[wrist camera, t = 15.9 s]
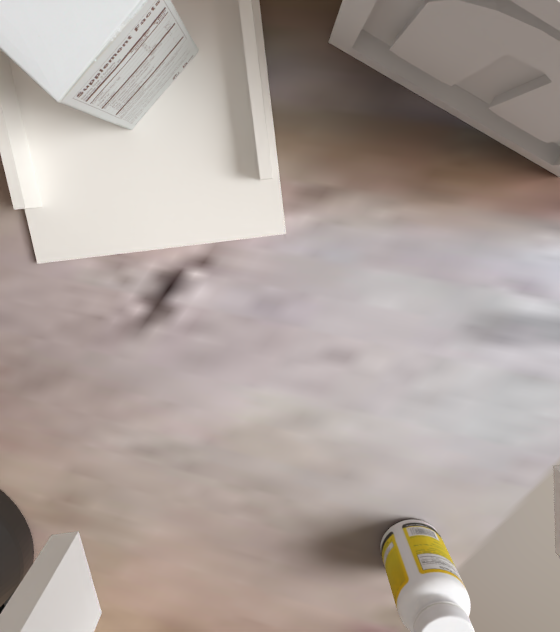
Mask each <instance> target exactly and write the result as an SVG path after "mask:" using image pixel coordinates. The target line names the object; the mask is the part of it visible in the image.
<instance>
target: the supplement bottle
mask: <svg viewBox="0 0 560 632" xmlns="http://www.w3.org/2000/svg"><path fill="white" fill-rule="evenodd" d="M380 551H381V556H382V560H383V563H384V566H385V570H386V573H387V576H388V579H389V583H390V586H391V590H392V593H393V596H394V600H395V604H396V607H397V610H398V613H399V616H400V619H401V621H402V622H403V624H404V625H405V626H406V627H407V629H409V630H410V631H411V632H474V629H473V627H472V624H471V622H470V619H469V617H468V616H469V613H470V599H469V595H468V593H467V590H466V588H465V586H464V584H463V582H462V580H461V578H460V576H459V573H458V571H457V569H456V567H455V565H454V563H453V561H452V559H451V557H450V555H449V553H448V551H447V549H446V547H445V545H444V542H443V540H442V538H441V537H440V535H439V533H438V532H437V531H436V529H435V528H434V527H433V526H431V525H430V524H428V523H426V522H424V521H421V520H415V519H410V520H404V521H401V522H398V523H396V524H395V525H393V526H392V527H390V528H389V529H388V530H387V531H386V533H385V534H384V536H383V538H382V541H381V545H380Z"/></svg>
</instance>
